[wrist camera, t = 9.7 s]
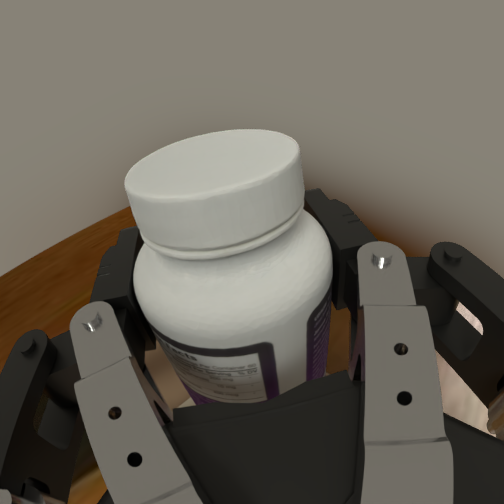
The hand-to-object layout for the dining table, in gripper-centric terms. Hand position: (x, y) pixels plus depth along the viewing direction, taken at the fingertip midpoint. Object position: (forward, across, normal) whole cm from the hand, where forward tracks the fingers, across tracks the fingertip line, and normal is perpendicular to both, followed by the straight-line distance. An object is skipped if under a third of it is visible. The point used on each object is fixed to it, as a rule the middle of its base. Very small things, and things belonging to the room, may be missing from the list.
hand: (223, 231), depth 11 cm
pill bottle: (-3, 0, +6) cm, 7 cm away
